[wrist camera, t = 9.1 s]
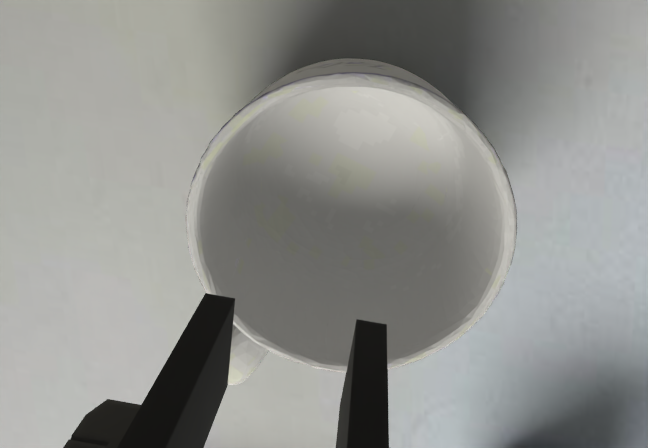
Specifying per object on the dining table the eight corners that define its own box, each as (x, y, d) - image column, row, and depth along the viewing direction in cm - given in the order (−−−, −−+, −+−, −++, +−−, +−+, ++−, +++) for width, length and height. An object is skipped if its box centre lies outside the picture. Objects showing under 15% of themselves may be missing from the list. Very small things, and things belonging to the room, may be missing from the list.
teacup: (373, -12, 22) (369, -11, 15) (529, 186, 25) (590, 269, 18) (148, 197, 27) (60, 276, 20) (299, 346, 29) (272, 466, 22)
